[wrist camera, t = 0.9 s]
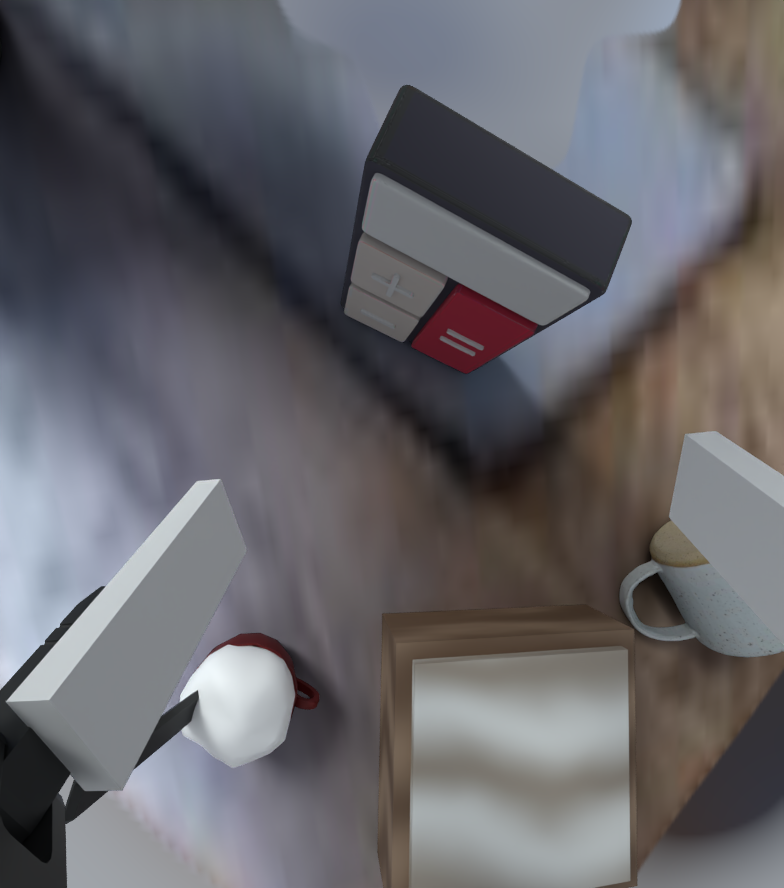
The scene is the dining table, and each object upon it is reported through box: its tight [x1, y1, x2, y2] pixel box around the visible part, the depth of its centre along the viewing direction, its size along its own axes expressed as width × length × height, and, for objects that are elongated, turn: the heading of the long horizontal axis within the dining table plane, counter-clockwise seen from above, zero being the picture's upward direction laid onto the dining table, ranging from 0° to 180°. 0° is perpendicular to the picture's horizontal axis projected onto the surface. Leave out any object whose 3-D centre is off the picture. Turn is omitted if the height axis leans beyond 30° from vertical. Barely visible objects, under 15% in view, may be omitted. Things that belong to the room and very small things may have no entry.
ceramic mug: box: [619, 520, 784, 657], centre depth 30 cm, size 11×8×8 cm
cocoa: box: [65, 633, 319, 824], centre depth 22 cm, size 10×6×12 cm, turn 52°
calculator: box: [341, 85, 632, 374], centre depth 24 cm, size 11×4×15 cm, turn 66°
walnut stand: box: [377, 605, 637, 888], centre depth 28 cm, size 16×16×6 cm
